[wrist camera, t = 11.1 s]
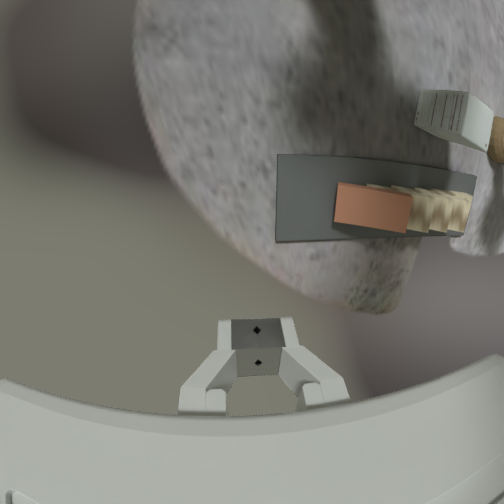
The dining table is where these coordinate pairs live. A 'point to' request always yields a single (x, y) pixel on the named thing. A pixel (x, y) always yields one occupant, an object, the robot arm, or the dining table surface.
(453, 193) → the domino
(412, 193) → the domino
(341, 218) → the domino
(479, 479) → the robot arm
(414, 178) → the mat
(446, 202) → the domino
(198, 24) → the dining table surface
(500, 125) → the oil lamp
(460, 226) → the domino
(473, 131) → the supplement box
